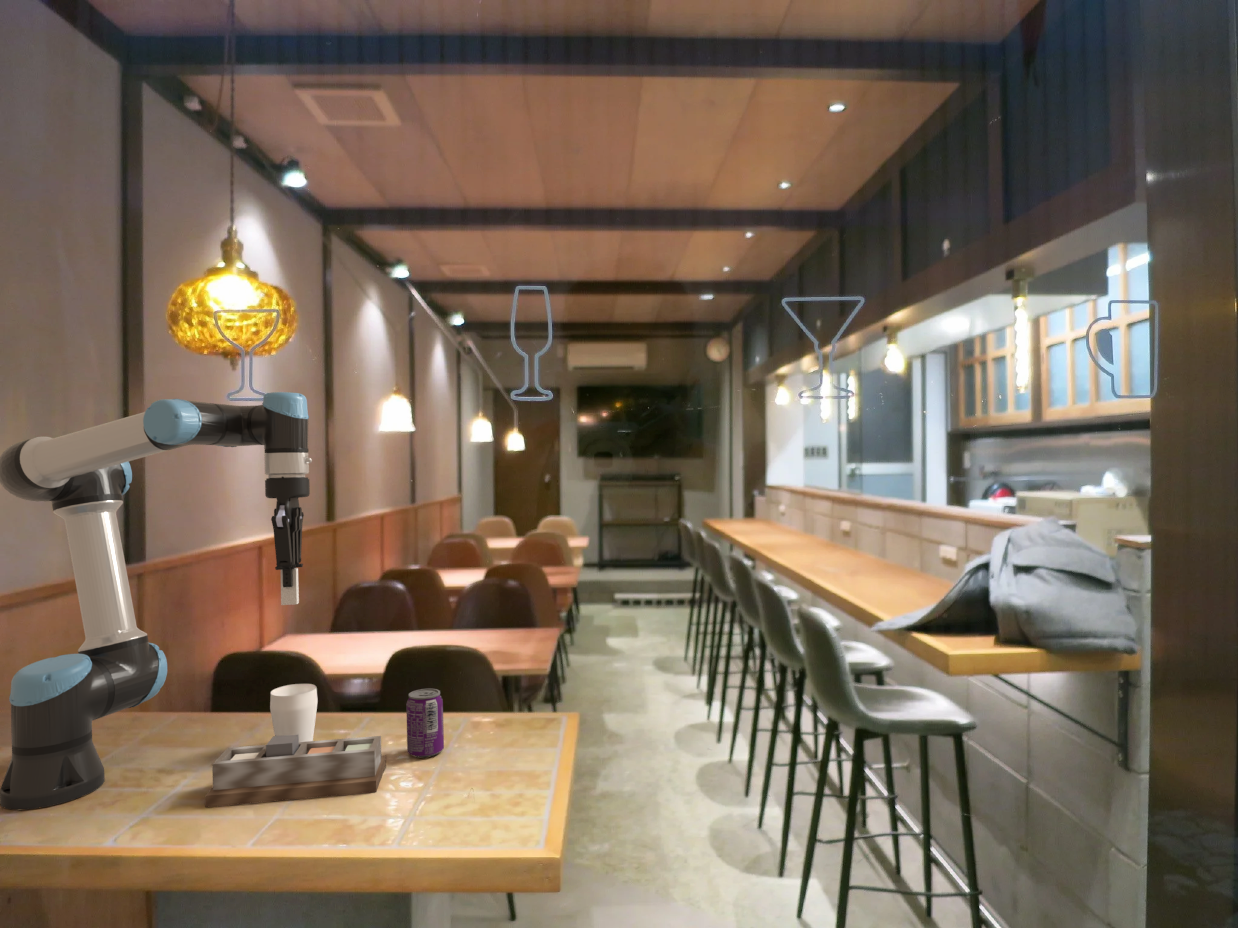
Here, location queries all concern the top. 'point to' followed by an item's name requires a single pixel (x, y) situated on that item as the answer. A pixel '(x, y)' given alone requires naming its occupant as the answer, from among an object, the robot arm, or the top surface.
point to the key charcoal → (282, 745)
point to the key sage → (358, 747)
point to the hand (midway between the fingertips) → (290, 603)
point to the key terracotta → (321, 750)
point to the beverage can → (425, 723)
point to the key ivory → (244, 756)
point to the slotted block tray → (296, 773)
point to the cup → (294, 710)
